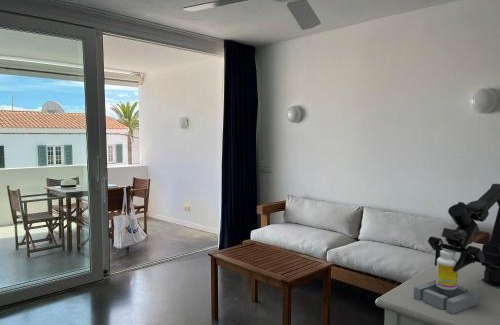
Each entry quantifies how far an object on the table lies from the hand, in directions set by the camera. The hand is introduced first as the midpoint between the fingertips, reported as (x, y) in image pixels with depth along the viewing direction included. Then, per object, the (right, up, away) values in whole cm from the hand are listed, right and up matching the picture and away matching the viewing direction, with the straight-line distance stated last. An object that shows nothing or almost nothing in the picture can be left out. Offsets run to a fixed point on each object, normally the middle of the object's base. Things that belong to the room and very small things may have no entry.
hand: (444, 268), depth 138 cm
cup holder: (+1, -12, +2) cm, 12 cm away
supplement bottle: (+1, -7, +1) cm, 7 cm away
